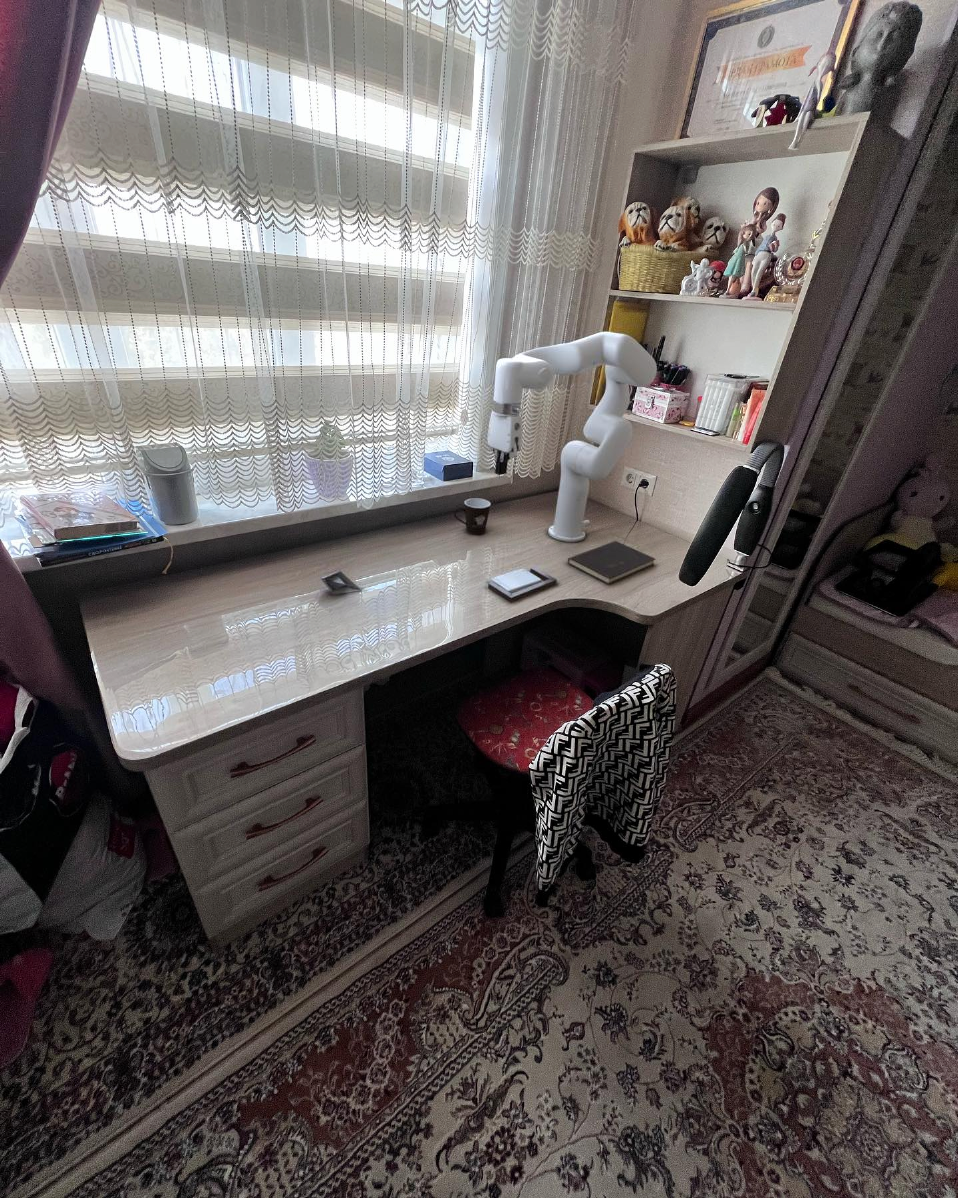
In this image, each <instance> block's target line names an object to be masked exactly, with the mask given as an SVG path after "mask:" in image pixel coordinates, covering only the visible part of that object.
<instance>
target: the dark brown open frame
mask: <svg viewBox="0 0 958 1198" xmlns="http://www.w3.org/2000/svg"><path fill="white" fill-rule="evenodd" d="M529 572H530V573H532V574H534V575H535V576H537V577H538V578H540V579H541V582H540V583H538V584H535V585H533V586H530V587H528V588H525V589H523V590H520V591H517V592H515V593H512V594H511V593H509V592H508V591H506V590H504V589H503V588H501V587H500V586H498V585H496V584H495V583H493V582H491V583H490V582H488V585H487V589H489V590H491V591H492V592H494V593H495V594H497V595H498V596H500V597H501V598H503V599H505V600H506V601H507V602H509V603H514V602H516V601H518V600H520V599H522V598H526V597H528V596H530V595H533V594H535V593H538V592H540V591H543V590H546V589H548V588H550V587H552V586H555V585H557V582H558V579H557V578H555V577H554V576H552V575H550V574H547V573H546V572H544V571H543V570H540V569H539V568H537V567H535V566H532V567H530V569H529Z"/></svg>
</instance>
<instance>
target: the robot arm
mask: <svg viewBox="0 0 958 1198" xmlns="http://www.w3.org/2000/svg"><path fill="white" fill-rule="evenodd" d="M601 366H605V367H604V371H605V389H604V394H603V395H602V397H601V399H600V401H599V402H598V404H597V406H596V407H595V409H594V410H593V412H591V414H590V416H589V417H588V419H587V421H586V423H585V425H584V426H583V430H582V431H583V436H584V437H585V438H586V439H587V440H588V441H589V442H592V443H594V444H596V445H599V446H595V445H593V444H590V443H589V442H585V441H582V440H571V441H569V442H568V443H566V444H565V445H564V447H563V448H562V451H561V453H560V481H559V488H558V495H557V502H556V508H555V514H554V522H553V525H551V526H550V527H549V528H548V530H547V532H548V533H547V534H548V535H549V536H550V537H552V538H553V539H554V540H557V541H561V542H567V543H575V542H581V541H582V540H584V539H585V538H586V532H585V531H584V530H583V529H584V528H585V527H588V526H589V525H590V524H591V521H590V520H589V519H586V520H584V517H585V514H586V513H585V512H586V507H587V501H588V497H589V491H590V480H591V481H595V482H597V481H598V482H599V481H602V480H604V479H606V478H607V477H608V475H610V473H611V472H612V470H614V467H615V466H616V465H617V463H618V462H619V460H620V459H621V457H622V456H623V454H624V453H625V451H626V450H627V448H628V447H629V445H630V443H631V441H632V438H633V433H634V429H633V425H632V423H631V421H629V420H628V419H626V418H624V417H623V416H624V415H625V414H626V412H627V410H628V408H629V405H630V403H631V402H630V401H631V393H630V386H633V387H637V388H645V387H647V386H649V385H651V384H652V383H653V381H654V380H655V378H656V377H657V372H658V371H657V370H658V366H657V363H656V360H655V358H654V357H653V356H652V355H651V354H650V353H649V352H648V351H647V350H646V349H645V348H644V347H643V346H642V345H641V344H640V343H639V342H638V341H637V340H636V339H635V338H634V337H632V336H631V335H629V334H625V333H620V332H619V333H618V332H612V331H601V332H597V333H595V334H592V335H588V336H586V337H583V338H580V339H576V340H574V341H571V342H565V343H558V344H553V345H548V346H541V347H536V348H533V349H530V350H526V351H523V352H520V353H518V354H516V355H514V356H513V357H512V358H511V357H509V358H508V357H507V358H506V357H504V358H499V359H498V360H497V362H496V365H495V379H494V390H493V401H492V402H493V403H492V410H491V413H490V417H489V421H488V428H487V445H488V449H489V450H490V451H491V452H493V454H494V457H493V458H494V460H495V466H494V467H495V469H494V474H496V475H498V476H502V475H506V474H507V472H508V463H509V461H510V460H511V459H514V458H517V457H518V452H520V451H521V450H522V447H523V446H522V445H523V416H522V415H521V413H522V407H521V406H522V396H523V390H524V389H528V390H536V391H538V390H543V389H545V388H547V387H549V386H550V385H551V383H552V382H553V379H554V375H557V376H558V375H559V376H573V375H578V374H581V373H584V372H586V371H589V370H592V369H594V368H599V367H601Z"/></svg>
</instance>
